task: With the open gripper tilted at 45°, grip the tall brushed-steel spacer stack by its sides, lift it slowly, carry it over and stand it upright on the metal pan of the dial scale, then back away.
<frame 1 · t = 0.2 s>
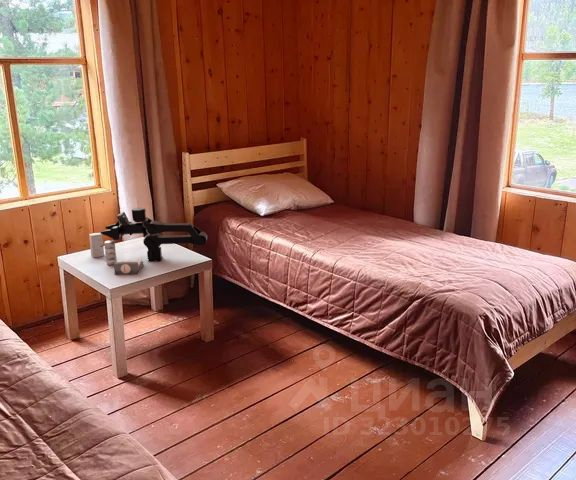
hand: (103, 230, 284), 17 cm above the table, tool horizontal, fingers open, 9 cm apart
dial scale: (129, 269, 275), on the table
spacer stack: (111, 264, 283), on the table
skincare box: (97, 256, 296), on the table
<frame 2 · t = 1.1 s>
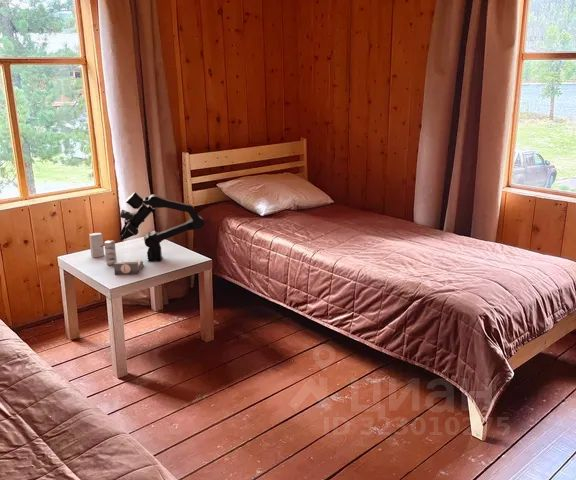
hand: (120, 237, 281), 14 cm above the table, tool tilted 45°, fingers open, 9 cm apart
nothing on the table moved.
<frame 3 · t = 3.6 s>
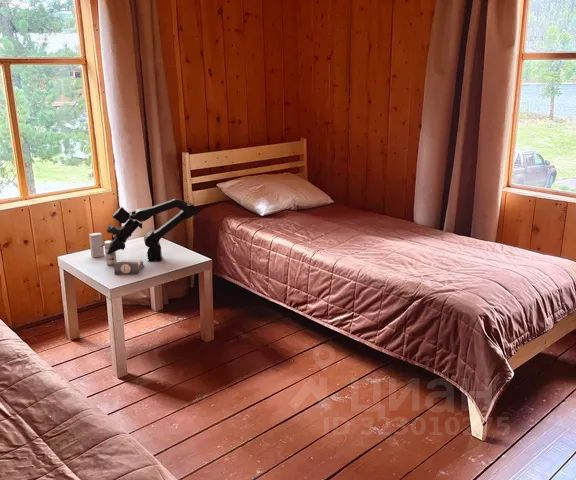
hand: (107, 252, 281), 7 cm above the table, tool tilted 45°, fingers closed on spacer stack, 5 cm apart
spacer stack: (111, 264, 283), on the table, touching gripper
everything else where it was.
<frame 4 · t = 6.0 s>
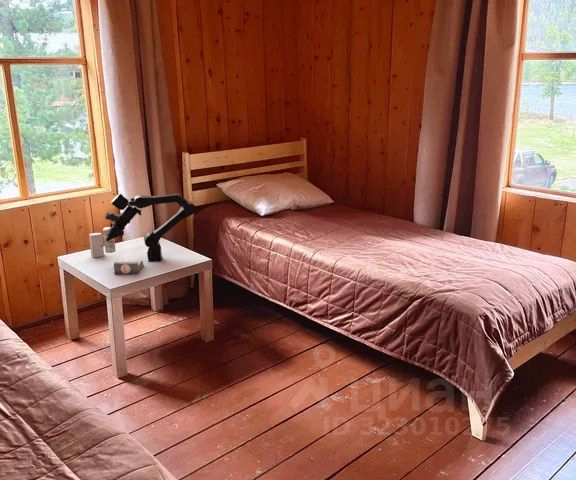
hand: (106, 239, 279), 13 cm above the table, tool tilted 45°, fingers closed on spacer stack, 5 cm apart
spacer stack: (110, 251, 281), point 7 cm above the table, touching gripper
everything else where it was.
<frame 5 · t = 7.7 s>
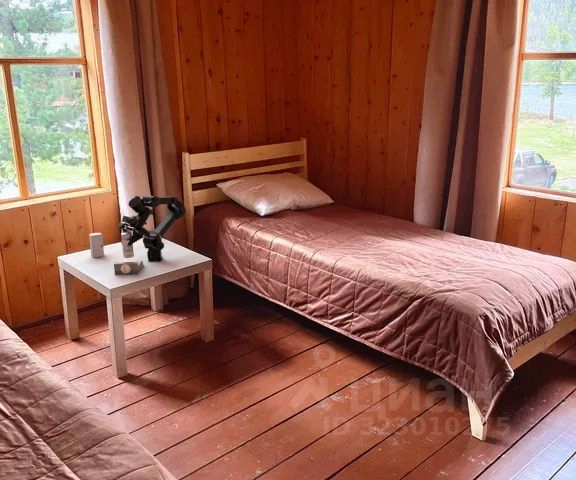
hand: (125, 244, 271), 13 cm above the table, tool tilted 45°, fingers closed on spacer stack, 5 cm apart
spacer stack: (128, 256, 274), point 7 cm above the table, touching gripper
everything else where it was.
when the fingers open (11 cm above the table, at t = 8.7 s): spacer stack drops 1 cm, resting on dial scale.
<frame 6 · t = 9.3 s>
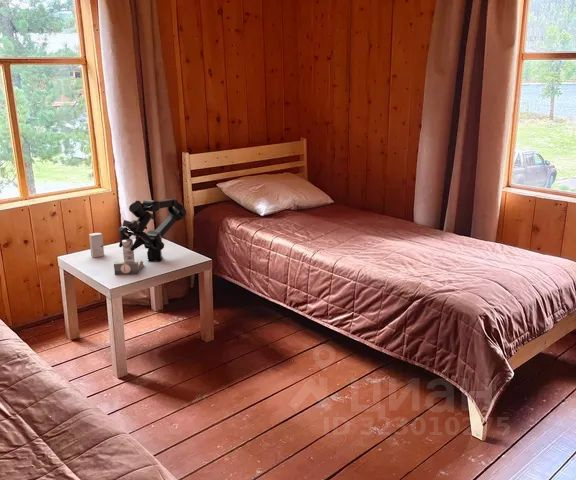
hand: (125, 248, 272), 11 cm above the table, tool tilted 45°, fingers open, 9 cm apart
spacer stack: (129, 263, 275), point 3 cm above the table, touching dial scale
everything else where it was.
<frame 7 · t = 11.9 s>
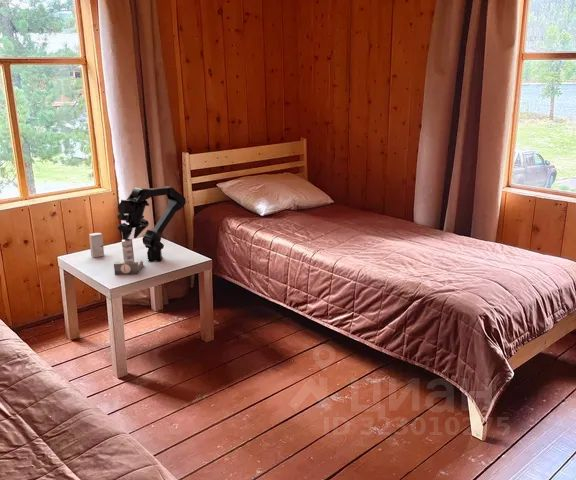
hand: (129, 240, 282), 12 cm above the table, tool tilted 20°, fingers open, 9 cm apart
nothing on the table moved.
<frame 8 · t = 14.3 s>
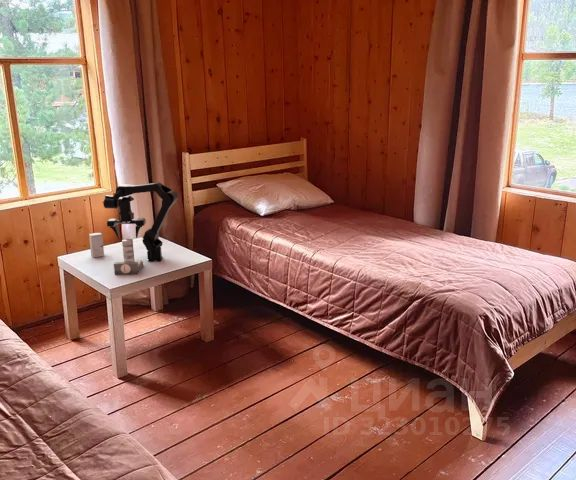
hand: (127, 238, 289), 11 cm above the table, tool pointing down, fingers open, 9 cm apart
nothing on the table moved.
at the end: spacer stack inside the target area on the dial scale (0.0 cm from its centre), point 3.1 cm above the dial scale's base; spacer stack tilted 2°; the gripper is holding nothing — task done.
